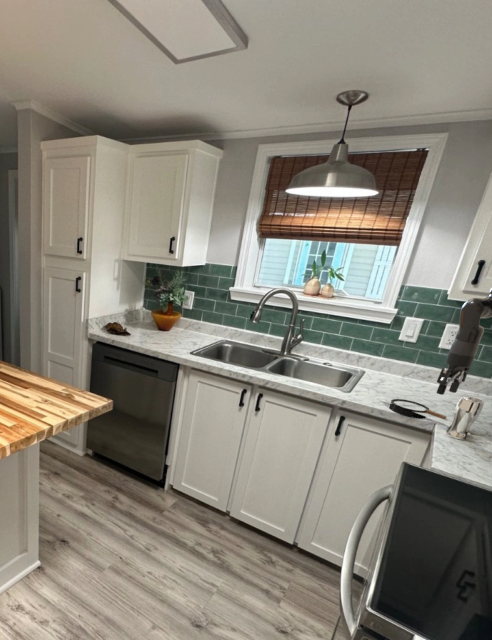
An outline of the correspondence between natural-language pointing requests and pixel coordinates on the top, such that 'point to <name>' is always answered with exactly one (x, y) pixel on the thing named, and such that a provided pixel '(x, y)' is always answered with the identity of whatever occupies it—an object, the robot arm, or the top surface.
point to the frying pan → (409, 412)
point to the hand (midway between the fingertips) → (446, 393)
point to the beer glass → (464, 416)
